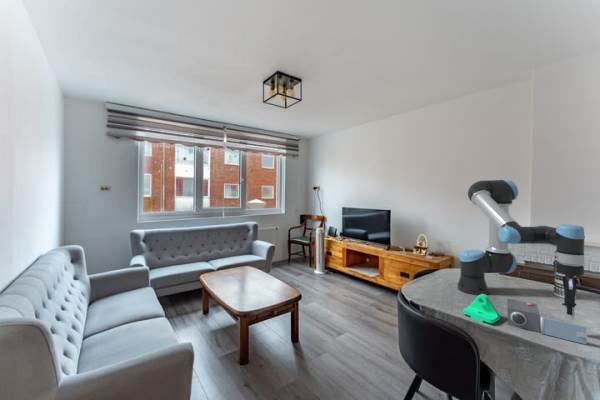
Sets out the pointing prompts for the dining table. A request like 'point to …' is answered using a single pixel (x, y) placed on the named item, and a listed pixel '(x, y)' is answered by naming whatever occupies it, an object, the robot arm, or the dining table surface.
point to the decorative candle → (559, 281)
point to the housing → (523, 315)
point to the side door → (563, 330)
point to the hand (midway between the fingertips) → (569, 321)
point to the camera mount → (482, 310)
